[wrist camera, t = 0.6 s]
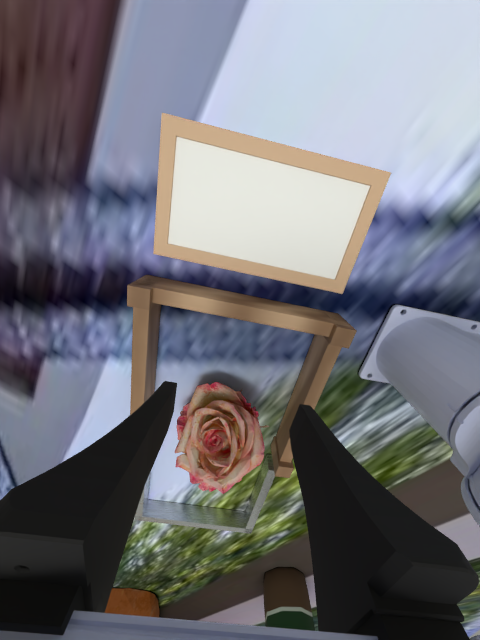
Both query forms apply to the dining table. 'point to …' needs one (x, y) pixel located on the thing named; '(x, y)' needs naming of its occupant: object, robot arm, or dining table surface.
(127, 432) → the robot arm
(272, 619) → the beer bottle
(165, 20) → the dining table surface
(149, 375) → the wooden frame
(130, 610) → the bread
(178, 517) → the stand tray
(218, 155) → the frame lid
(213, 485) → the flower
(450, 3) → the dining table surface
